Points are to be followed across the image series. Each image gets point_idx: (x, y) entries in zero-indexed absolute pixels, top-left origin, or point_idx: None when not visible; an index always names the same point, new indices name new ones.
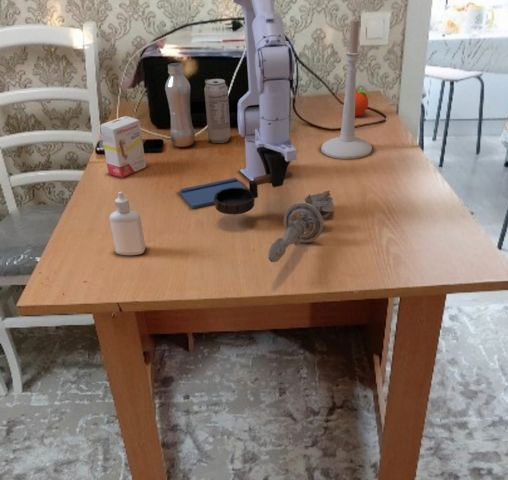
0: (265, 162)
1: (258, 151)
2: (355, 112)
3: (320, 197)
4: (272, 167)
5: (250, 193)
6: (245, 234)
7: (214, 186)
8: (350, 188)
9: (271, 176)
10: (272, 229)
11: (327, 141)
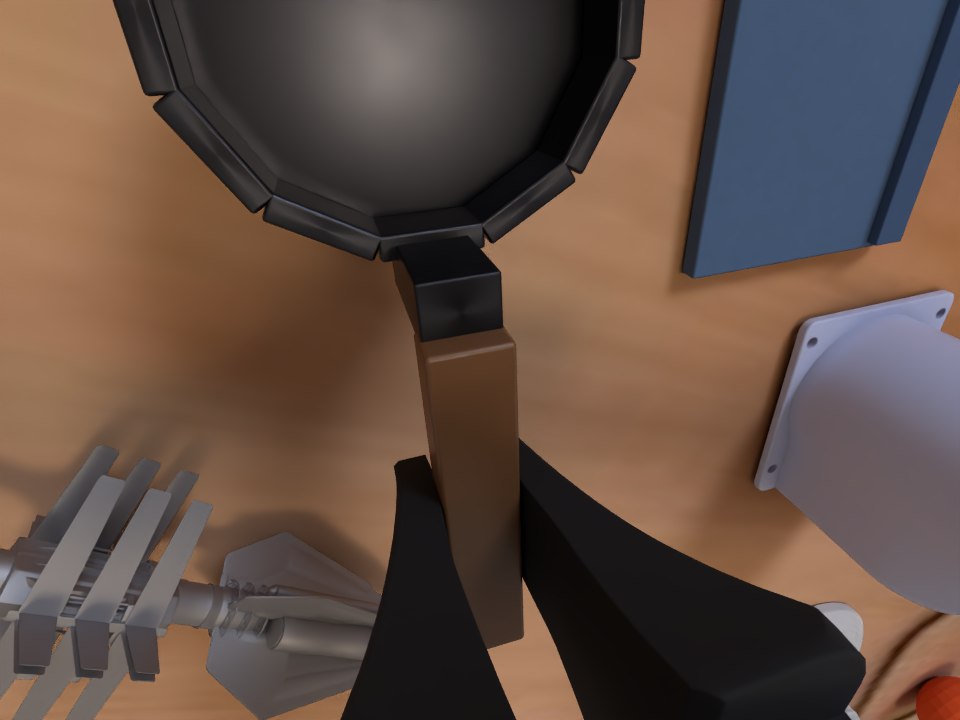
0: (590, 586)
1: (762, 663)
2: (931, 700)
3: (281, 650)
4: (364, 666)
5: (416, 228)
6: (74, 7)
7: (920, 65)
8: (509, 664)
9: (415, 528)
10: (144, 267)
11: (854, 637)
